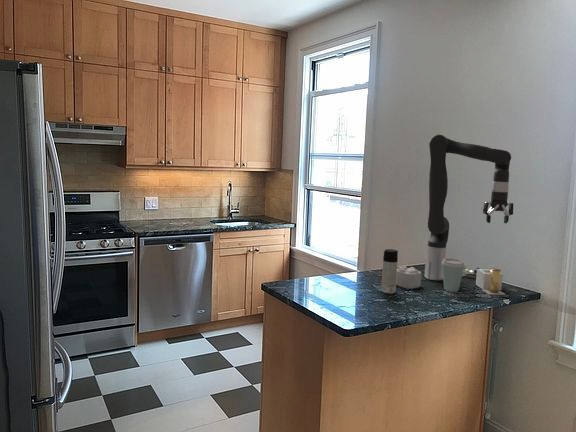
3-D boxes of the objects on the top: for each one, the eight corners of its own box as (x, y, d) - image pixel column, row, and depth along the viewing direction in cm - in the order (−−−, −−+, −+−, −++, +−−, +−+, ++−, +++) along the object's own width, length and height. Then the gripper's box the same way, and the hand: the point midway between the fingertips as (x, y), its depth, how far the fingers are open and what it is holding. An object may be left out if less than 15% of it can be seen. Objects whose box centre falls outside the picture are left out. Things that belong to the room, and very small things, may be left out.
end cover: (491, 292, 228) (493, 270, 226) (487, 290, 232) (489, 268, 231) (500, 293, 228) (502, 270, 227) (496, 290, 232) (498, 268, 231)
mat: (488, 294, 227) (488, 293, 227) (482, 290, 234) (482, 289, 233) (505, 295, 227) (505, 294, 227) (498, 290, 234) (498, 290, 234)
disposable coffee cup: (466, 290, 232) (468, 260, 230) (456, 294, 224) (459, 263, 222) (445, 285, 239) (447, 256, 237) (435, 289, 231) (438, 259, 229)
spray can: (396, 291, 227) (399, 249, 224) (393, 294, 221) (396, 252, 218) (383, 289, 230) (385, 248, 227) (379, 292, 224) (382, 250, 221)
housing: (483, 289, 235) (484, 273, 234) (475, 284, 244) (477, 269, 243) (501, 290, 235) (502, 274, 234) (493, 285, 244) (494, 269, 243)
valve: (455, 275, 262) (473, 280, 252) (456, 263, 261) (475, 268, 251) (462, 274, 265) (481, 279, 255) (463, 262, 264) (482, 267, 254)
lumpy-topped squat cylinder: (409, 289, 231) (410, 271, 230) (389, 282, 241) (390, 266, 240) (423, 286, 237) (424, 269, 236) (402, 280, 248) (403, 263, 246)
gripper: (510, 190, 242) (507, 222, 244) (482, 189, 241) (479, 221, 243) (517, 191, 234) (514, 224, 236) (489, 190, 234) (486, 223, 236)
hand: (496, 222), depth 240 cm, fingers open, 8 cm apart
